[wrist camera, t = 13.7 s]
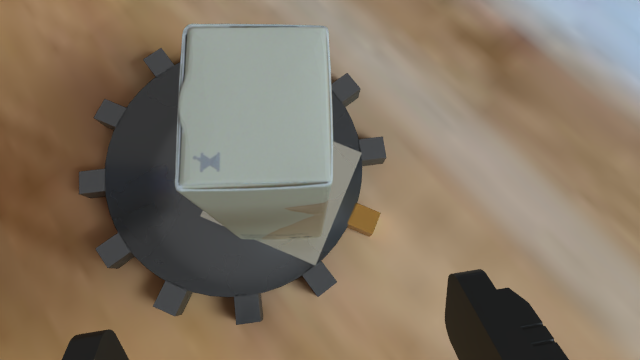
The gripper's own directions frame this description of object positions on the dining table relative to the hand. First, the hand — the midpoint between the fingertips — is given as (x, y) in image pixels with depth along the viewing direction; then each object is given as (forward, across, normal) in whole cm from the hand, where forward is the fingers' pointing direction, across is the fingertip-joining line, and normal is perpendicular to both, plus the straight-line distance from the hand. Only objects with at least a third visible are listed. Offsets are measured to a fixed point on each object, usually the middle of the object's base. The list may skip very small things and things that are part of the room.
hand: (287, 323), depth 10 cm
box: (+12, 0, +4) cm, 13 cm away
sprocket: (+14, +2, +4) cm, 15 cm away
